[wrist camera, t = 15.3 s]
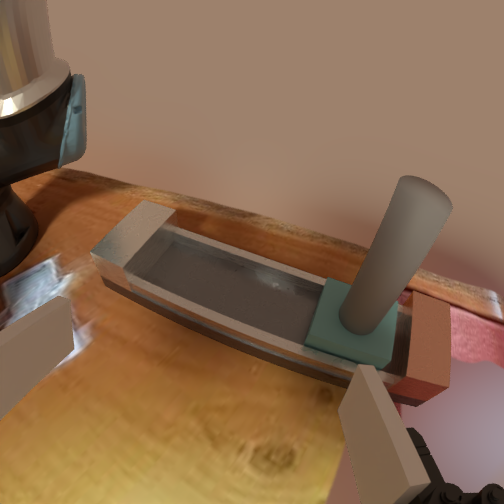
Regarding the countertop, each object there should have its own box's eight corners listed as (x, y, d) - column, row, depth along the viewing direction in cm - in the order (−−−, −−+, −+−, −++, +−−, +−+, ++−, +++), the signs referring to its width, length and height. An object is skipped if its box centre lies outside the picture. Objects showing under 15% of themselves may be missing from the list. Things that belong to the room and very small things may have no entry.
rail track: (105, 285, 32) (89, 251, 28) (150, 234, 39) (143, 199, 35) (416, 406, 24) (449, 387, 20) (424, 332, 31) (449, 304, 26)
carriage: (301, 348, 27) (365, 200, 14) (320, 294, 31) (371, 151, 19) (377, 373, 25) (486, 250, 13) (386, 317, 29) (465, 189, 17)
